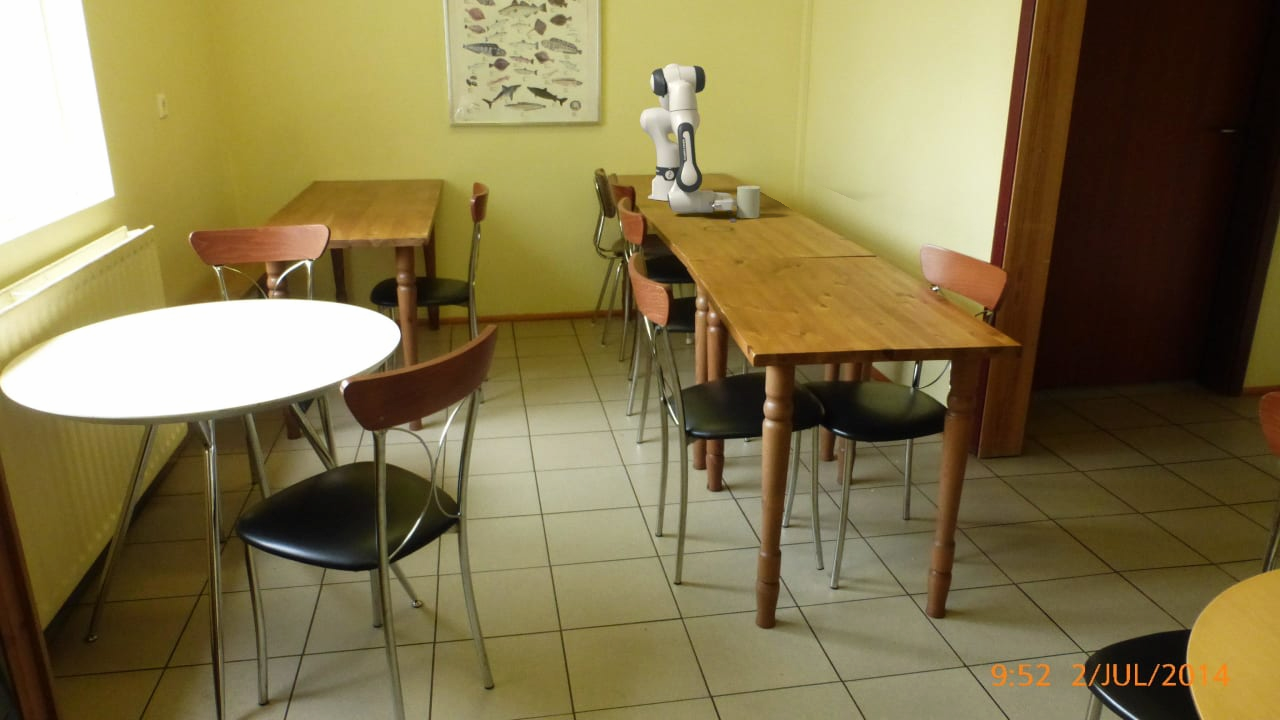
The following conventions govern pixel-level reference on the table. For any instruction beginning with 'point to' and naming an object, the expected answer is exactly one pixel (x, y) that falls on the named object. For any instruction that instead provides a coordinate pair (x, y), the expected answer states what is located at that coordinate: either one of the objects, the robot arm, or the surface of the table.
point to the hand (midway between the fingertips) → (743, 201)
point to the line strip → (732, 219)
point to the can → (748, 201)
